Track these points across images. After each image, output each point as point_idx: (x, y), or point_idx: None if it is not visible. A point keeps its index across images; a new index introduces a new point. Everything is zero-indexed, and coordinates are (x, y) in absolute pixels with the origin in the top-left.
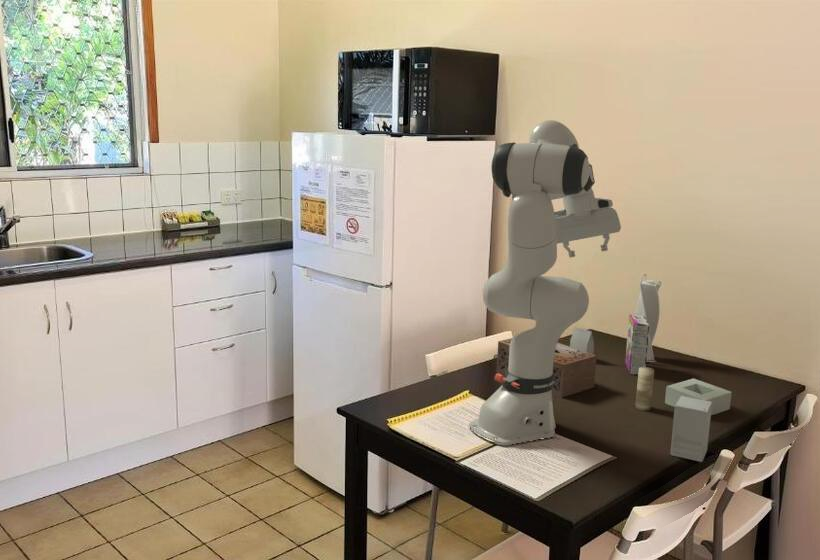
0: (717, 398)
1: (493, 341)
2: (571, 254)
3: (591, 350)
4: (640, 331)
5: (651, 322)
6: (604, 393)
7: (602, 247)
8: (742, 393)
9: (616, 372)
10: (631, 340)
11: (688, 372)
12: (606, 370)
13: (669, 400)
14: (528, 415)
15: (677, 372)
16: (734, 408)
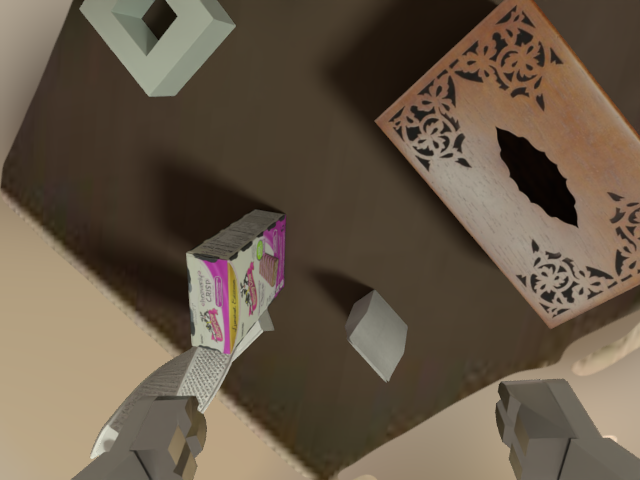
0: None
1: None
2: (558, 398)
3: (354, 312)
4: (218, 248)
5: (186, 354)
6: (369, 70)
7: (175, 426)
8: (84, 122)
9: (313, 226)
10: (253, 250)
11: (167, 236)
12: (334, 238)
13: (222, 13)
14: None
15: (187, 234)
16: None
